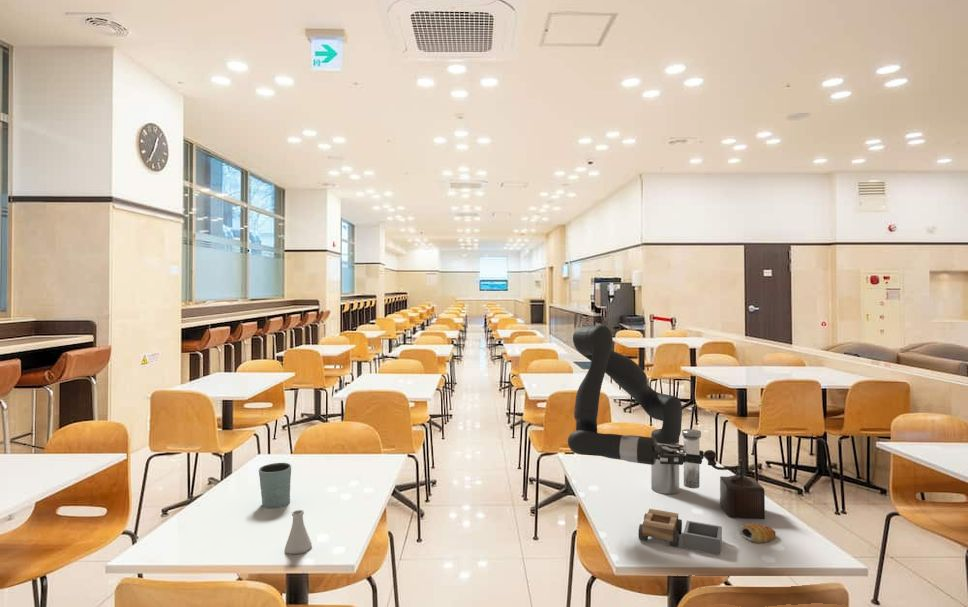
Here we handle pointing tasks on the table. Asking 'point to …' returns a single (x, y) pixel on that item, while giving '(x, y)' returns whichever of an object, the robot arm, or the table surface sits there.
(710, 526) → the tray
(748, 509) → the manual coffee grinder
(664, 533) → the trolley
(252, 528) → the table surface
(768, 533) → the pastry
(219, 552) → the table surface
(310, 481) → the table surface
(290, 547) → the flask
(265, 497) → the grey cup
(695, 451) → the pin
